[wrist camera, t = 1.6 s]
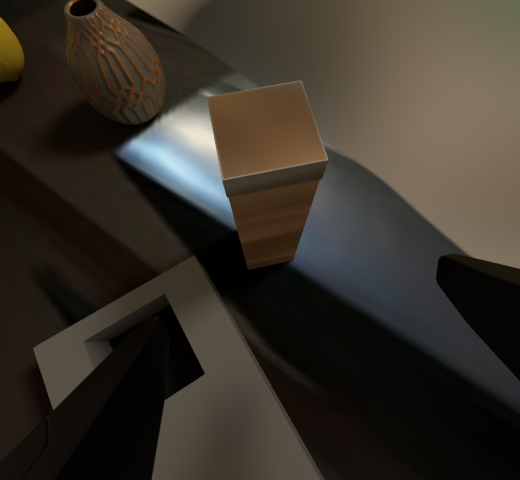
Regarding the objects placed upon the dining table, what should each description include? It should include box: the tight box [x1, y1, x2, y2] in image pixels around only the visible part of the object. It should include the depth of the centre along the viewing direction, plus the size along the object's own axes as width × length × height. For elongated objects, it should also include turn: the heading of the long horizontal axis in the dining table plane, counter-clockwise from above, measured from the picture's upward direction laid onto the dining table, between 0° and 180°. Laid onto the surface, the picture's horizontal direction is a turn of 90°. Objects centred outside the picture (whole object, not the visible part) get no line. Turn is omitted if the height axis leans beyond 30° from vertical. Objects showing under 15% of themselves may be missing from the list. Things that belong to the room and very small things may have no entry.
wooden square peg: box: [207, 80, 328, 270], centre depth 16 cm, size 4×4×13 cm
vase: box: [64, 0, 166, 125], centre depth 23 cm, size 7×7×9 cm
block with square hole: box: [33, 256, 324, 480], centre depth 17 cm, size 16×11×3 cm
